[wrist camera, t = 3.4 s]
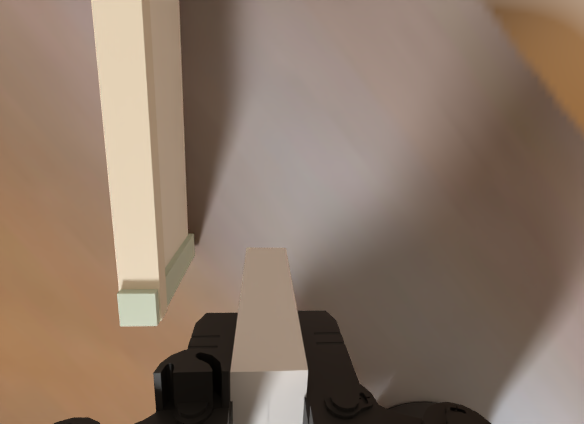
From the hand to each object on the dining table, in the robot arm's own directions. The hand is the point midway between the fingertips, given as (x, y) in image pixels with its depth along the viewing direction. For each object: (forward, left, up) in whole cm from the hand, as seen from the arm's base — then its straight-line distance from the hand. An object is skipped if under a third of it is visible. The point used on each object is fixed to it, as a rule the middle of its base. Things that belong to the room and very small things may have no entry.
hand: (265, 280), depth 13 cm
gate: (+8, -7, -16) cm, 19 cm away
